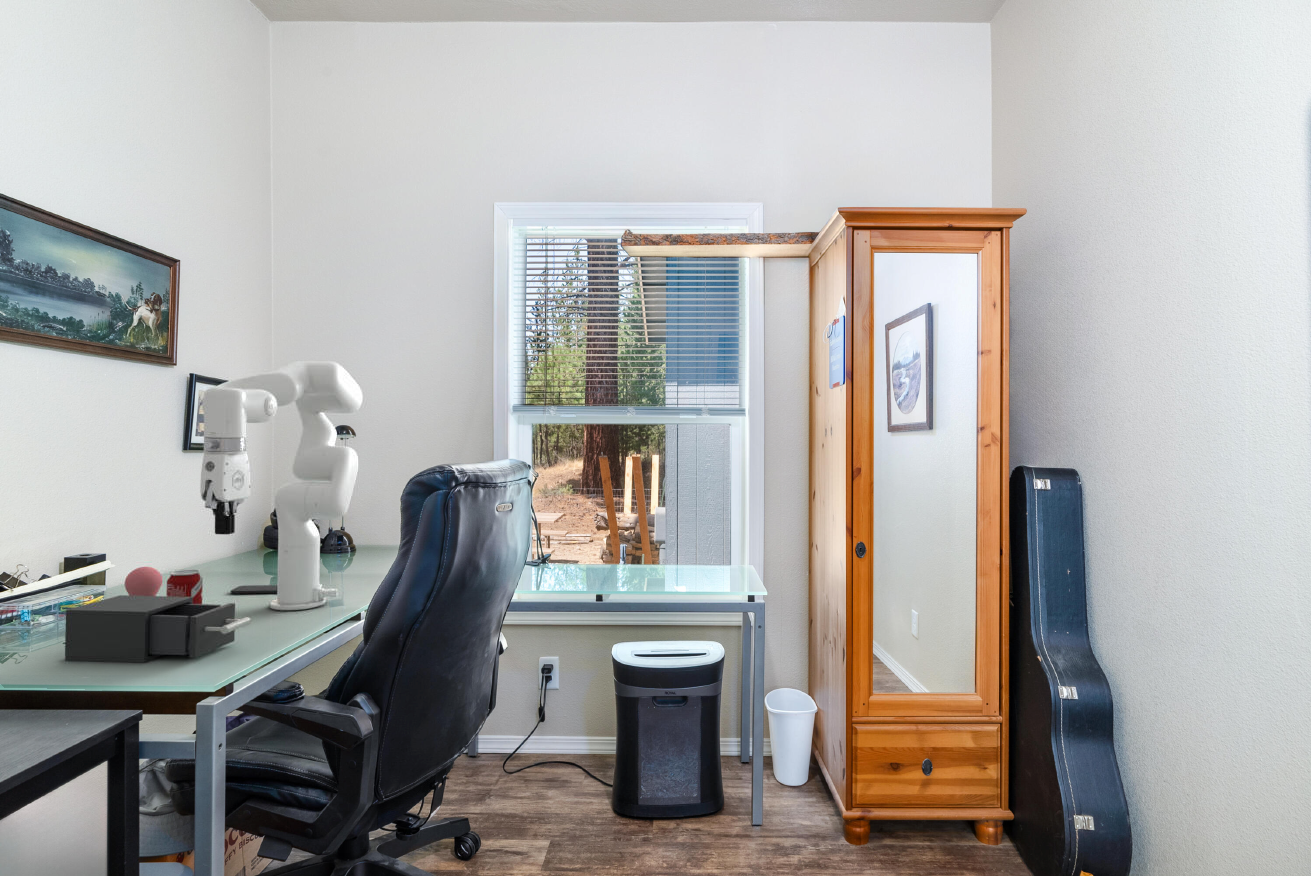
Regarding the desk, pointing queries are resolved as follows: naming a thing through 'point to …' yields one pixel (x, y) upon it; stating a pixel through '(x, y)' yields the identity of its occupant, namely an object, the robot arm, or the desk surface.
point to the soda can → (185, 585)
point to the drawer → (192, 629)
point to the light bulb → (143, 582)
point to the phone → (255, 589)
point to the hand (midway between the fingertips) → (224, 533)
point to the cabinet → (114, 628)
